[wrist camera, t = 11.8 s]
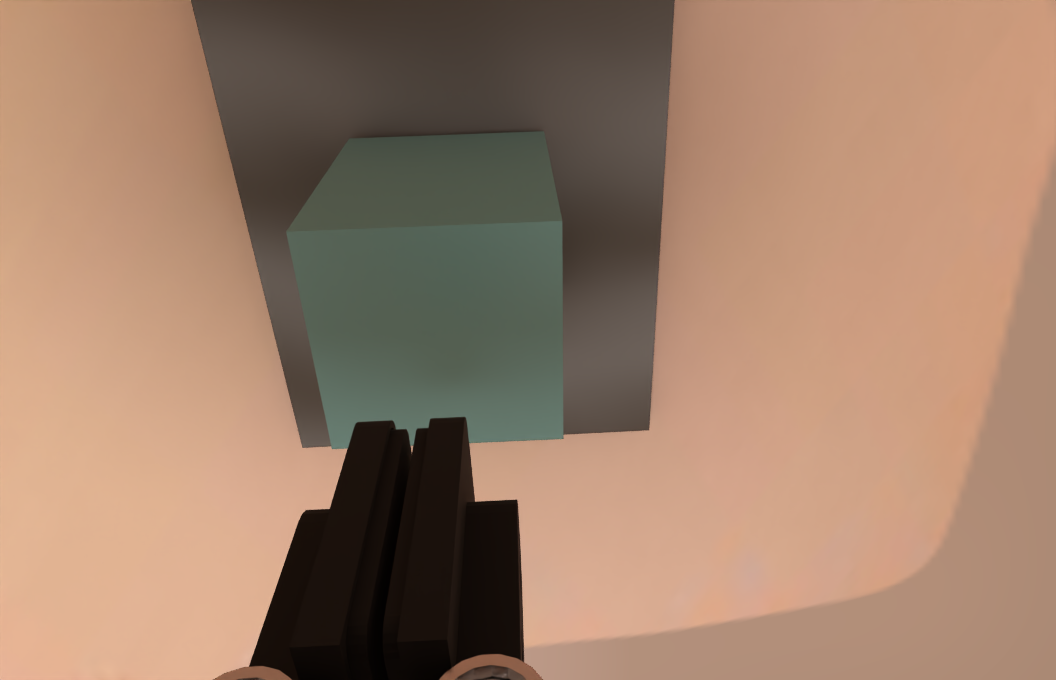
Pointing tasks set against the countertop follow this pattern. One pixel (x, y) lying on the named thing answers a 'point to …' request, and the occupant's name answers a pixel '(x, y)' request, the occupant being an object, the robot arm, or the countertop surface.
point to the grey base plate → (463, 108)
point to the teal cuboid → (436, 285)
